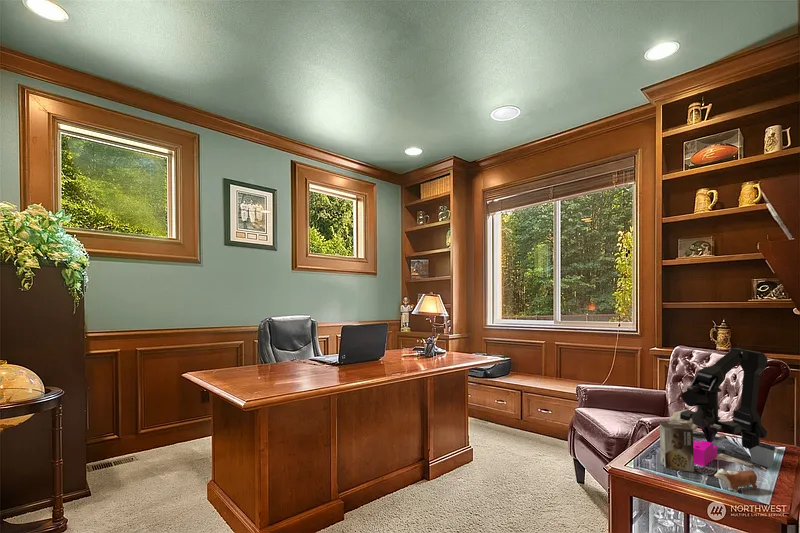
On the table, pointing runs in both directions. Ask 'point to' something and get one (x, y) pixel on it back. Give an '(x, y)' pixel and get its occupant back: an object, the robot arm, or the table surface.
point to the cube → (762, 456)
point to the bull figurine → (737, 478)
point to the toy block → (704, 452)
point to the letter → (731, 459)
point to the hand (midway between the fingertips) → (709, 443)
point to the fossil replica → (677, 419)
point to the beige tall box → (676, 446)
